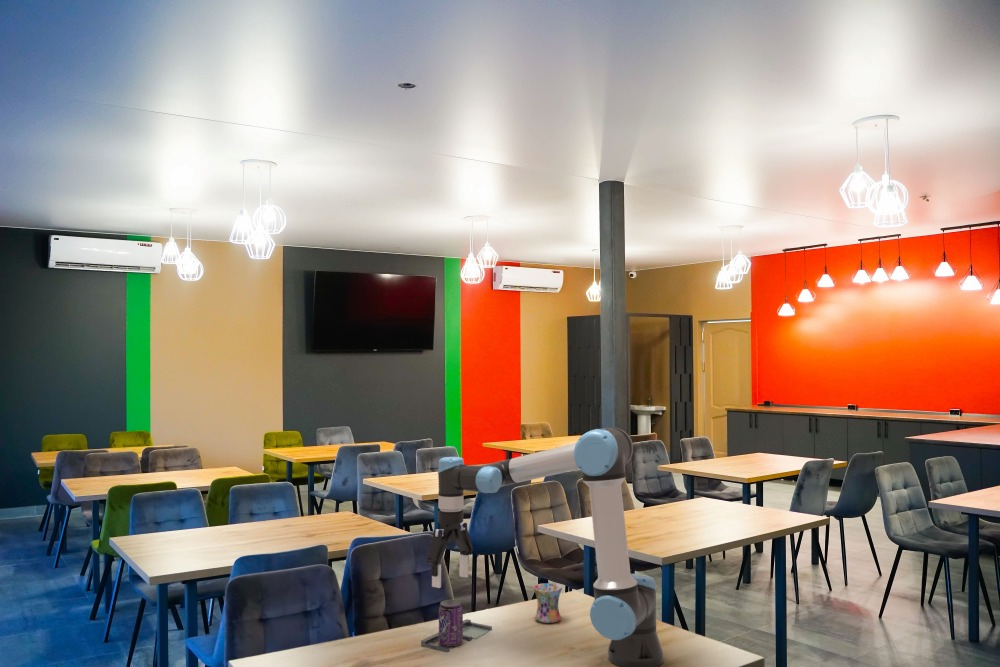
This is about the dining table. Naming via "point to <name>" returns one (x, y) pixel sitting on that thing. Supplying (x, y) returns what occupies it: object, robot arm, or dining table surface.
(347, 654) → the dining table surface
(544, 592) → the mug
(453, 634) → the beverage can
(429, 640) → the grey flat frame
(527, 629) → the dining table surface
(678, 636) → the dining table surface
